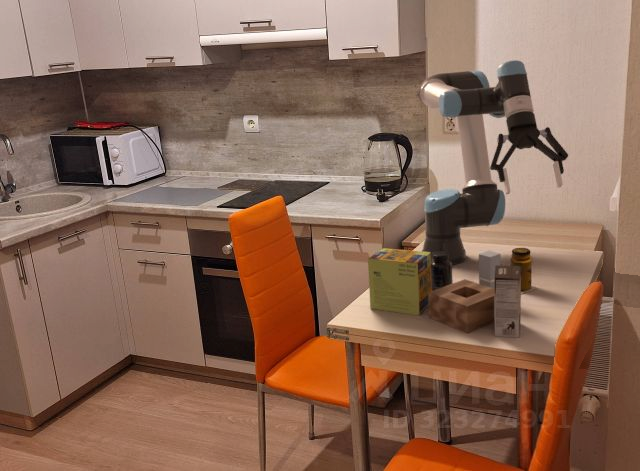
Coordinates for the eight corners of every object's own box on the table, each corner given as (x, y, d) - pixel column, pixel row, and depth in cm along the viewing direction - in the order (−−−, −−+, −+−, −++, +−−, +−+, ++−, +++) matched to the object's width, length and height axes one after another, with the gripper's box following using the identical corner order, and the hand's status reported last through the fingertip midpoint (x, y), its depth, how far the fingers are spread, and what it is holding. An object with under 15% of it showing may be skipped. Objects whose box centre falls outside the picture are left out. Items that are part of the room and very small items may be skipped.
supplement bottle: (435, 285, 207) (434, 248, 203) (456, 288, 203) (455, 251, 200) (425, 293, 201) (424, 255, 198) (446, 296, 198) (445, 258, 194)
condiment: (537, 288, 198) (538, 249, 195) (518, 295, 194) (518, 256, 191) (518, 282, 204) (518, 244, 201) (499, 289, 200) (499, 251, 197)
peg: (479, 299, 193) (478, 254, 189) (489, 296, 195) (488, 250, 192) (490, 303, 190) (490, 257, 186) (500, 299, 192) (500, 253, 188)
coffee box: (495, 322, 178) (495, 264, 173) (520, 323, 176) (521, 265, 172) (493, 336, 170) (493, 276, 165) (520, 338, 168) (520, 277, 163)
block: (429, 317, 184) (428, 292, 182) (465, 303, 191) (464, 279, 189) (467, 333, 173) (467, 306, 170) (503, 317, 180) (503, 291, 178)
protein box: (420, 316, 186) (418, 263, 181) (369, 309, 193) (366, 258, 189) (433, 302, 194) (431, 251, 190) (384, 296, 202) (381, 247, 197)
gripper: (475, 116, 180) (488, 191, 175) (569, 103, 178) (585, 178, 173) (472, 127, 187) (484, 199, 182) (563, 114, 185) (578, 187, 180)
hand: (534, 189), depth 178 cm, fingers open, 13 cm apart
